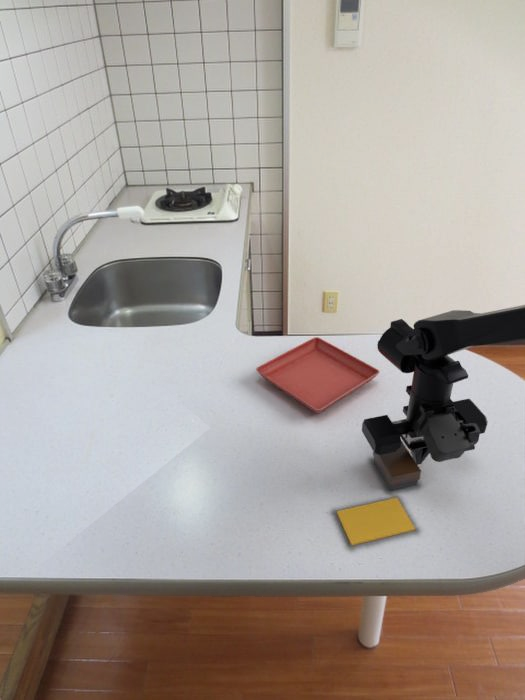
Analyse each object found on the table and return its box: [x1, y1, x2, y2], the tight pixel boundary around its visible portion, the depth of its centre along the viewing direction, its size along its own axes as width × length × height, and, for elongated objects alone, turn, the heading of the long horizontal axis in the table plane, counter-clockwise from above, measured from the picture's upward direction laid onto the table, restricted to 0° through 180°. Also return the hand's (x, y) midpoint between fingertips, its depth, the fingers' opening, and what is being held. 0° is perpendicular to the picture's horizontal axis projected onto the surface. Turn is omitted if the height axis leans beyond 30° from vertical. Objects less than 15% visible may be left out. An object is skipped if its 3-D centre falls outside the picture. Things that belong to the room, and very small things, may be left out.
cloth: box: [336, 497, 416, 546], centre depth 79 cm, size 10×6×1 cm, turn 104°
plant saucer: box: [255, 336, 380, 414], centre depth 106 cm, size 18×18×3 cm
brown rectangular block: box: [372, 440, 422, 492], centre depth 86 cm, size 7×5×4 cm
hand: (417, 462), depth 87 cm, fingers closed
